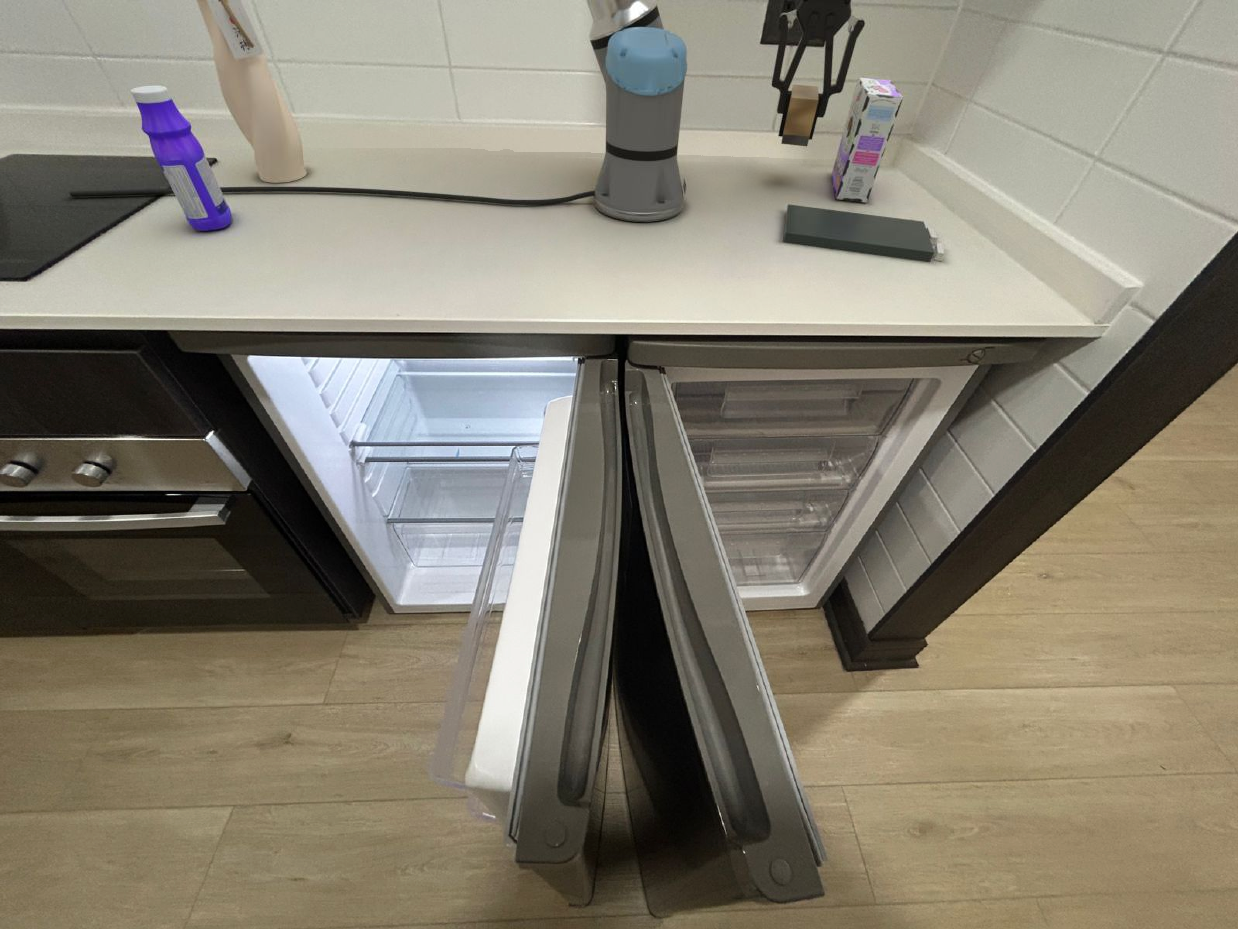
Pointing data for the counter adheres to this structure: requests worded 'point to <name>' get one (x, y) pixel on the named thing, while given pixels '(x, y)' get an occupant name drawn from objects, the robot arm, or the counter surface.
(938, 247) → the chalk
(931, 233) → the chalk
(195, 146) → the bottle
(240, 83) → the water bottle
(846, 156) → the candy box
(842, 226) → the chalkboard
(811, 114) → the eraser
